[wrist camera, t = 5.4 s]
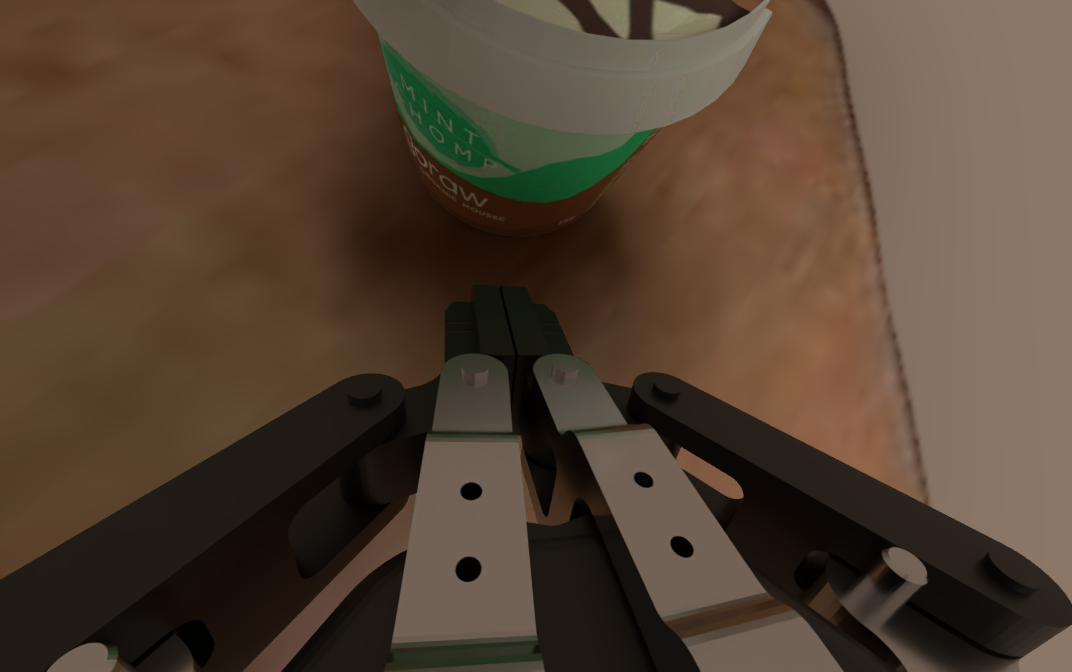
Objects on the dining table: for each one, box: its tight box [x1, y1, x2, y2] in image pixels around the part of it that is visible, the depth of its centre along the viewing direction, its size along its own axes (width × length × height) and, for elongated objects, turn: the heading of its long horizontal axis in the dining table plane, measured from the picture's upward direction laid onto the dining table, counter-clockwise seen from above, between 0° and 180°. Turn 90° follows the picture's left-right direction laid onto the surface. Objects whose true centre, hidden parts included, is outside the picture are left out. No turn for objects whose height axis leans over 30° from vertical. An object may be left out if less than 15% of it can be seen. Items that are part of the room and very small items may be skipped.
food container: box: [353, 0, 772, 237], centre depth 14 cm, size 12×6×10 cm, turn 62°
